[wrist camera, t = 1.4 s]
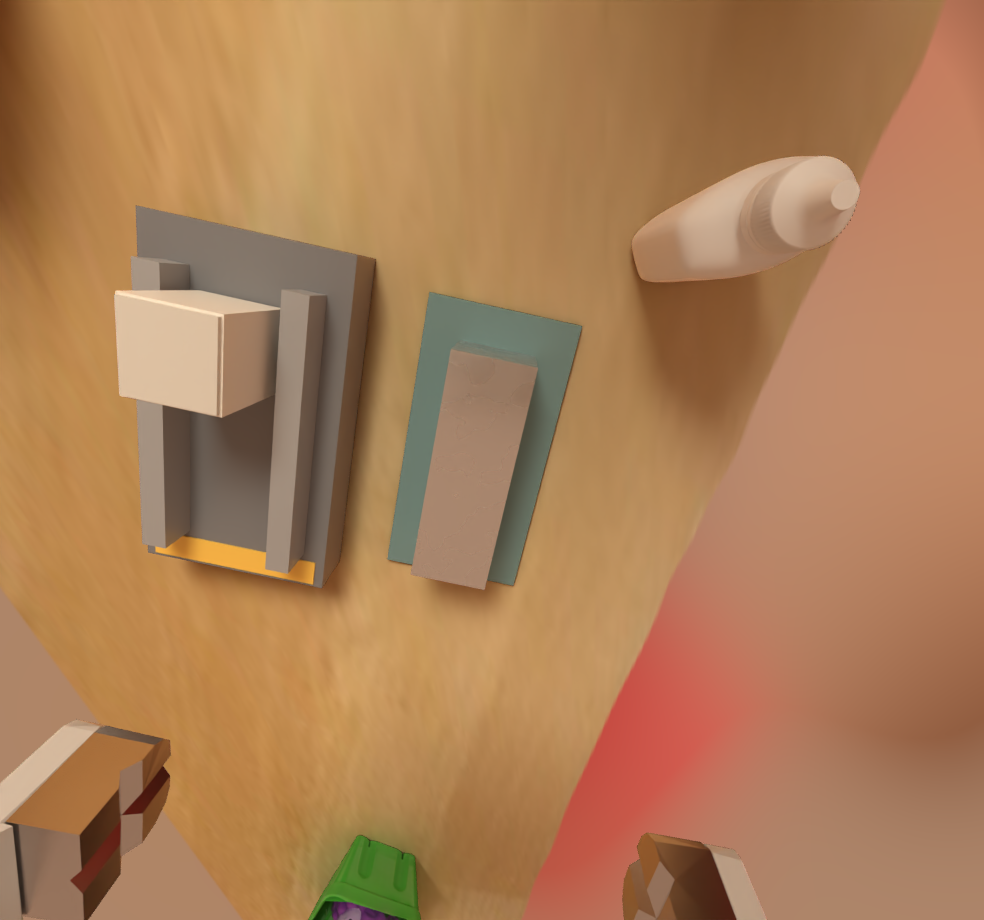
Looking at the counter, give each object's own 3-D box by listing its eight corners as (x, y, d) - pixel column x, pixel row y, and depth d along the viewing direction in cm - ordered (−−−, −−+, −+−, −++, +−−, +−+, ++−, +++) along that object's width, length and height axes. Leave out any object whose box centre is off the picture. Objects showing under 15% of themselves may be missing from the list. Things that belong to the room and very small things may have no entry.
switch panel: (179, 214, 24) (99, 197, 20) (375, 258, 25) (342, 251, 20) (182, 527, 30) (121, 571, 26) (339, 560, 31) (307, 609, 26)
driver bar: (460, 340, 25) (450, 348, 22) (535, 356, 26) (538, 368, 22) (424, 538, 30) (410, 574, 26) (488, 551, 30) (484, 590, 26)
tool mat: (430, 292, 25) (429, 292, 25) (581, 325, 25) (582, 326, 25) (388, 557, 30) (387, 559, 30) (513, 583, 31) (513, 585, 30)
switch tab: (199, 290, 22) (111, 290, 18) (285, 308, 23) (221, 314, 18) (199, 374, 24) (117, 397, 19) (280, 392, 24) (219, 418, 19)
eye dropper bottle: (730, 296, 24) (915, 302, 13) (620, 277, 24) (710, 267, 13) (760, 199, 23) (996, 113, 12) (643, 179, 23) (766, 73, 12)
